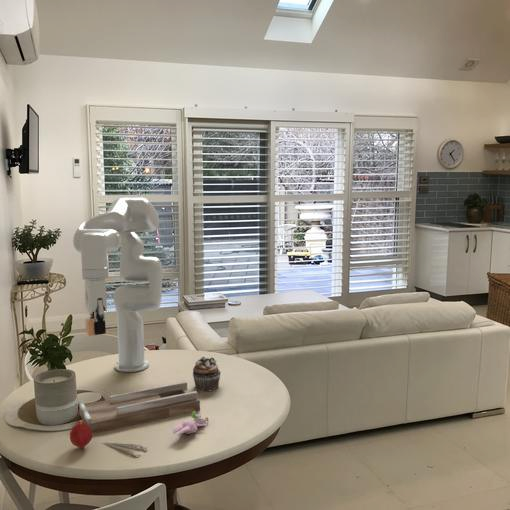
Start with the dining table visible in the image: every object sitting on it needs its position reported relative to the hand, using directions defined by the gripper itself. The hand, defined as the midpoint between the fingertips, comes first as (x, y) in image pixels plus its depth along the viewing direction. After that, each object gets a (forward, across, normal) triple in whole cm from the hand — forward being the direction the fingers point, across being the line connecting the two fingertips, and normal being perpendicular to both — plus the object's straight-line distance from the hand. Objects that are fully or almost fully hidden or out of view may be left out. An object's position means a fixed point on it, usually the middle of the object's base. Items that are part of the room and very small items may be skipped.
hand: (98, 330), depth 166 cm
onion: (+26, +22, -10) cm, 35 cm away
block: (+1, 0, -1) cm, 1 cm away
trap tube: (+25, +8, +10) cm, 28 cm away
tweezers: (+26, +26, -1) cm, 37 cm away
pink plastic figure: (+26, +27, +19) cm, 42 cm away
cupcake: (+26, -1, +36) cm, 44 cm away
